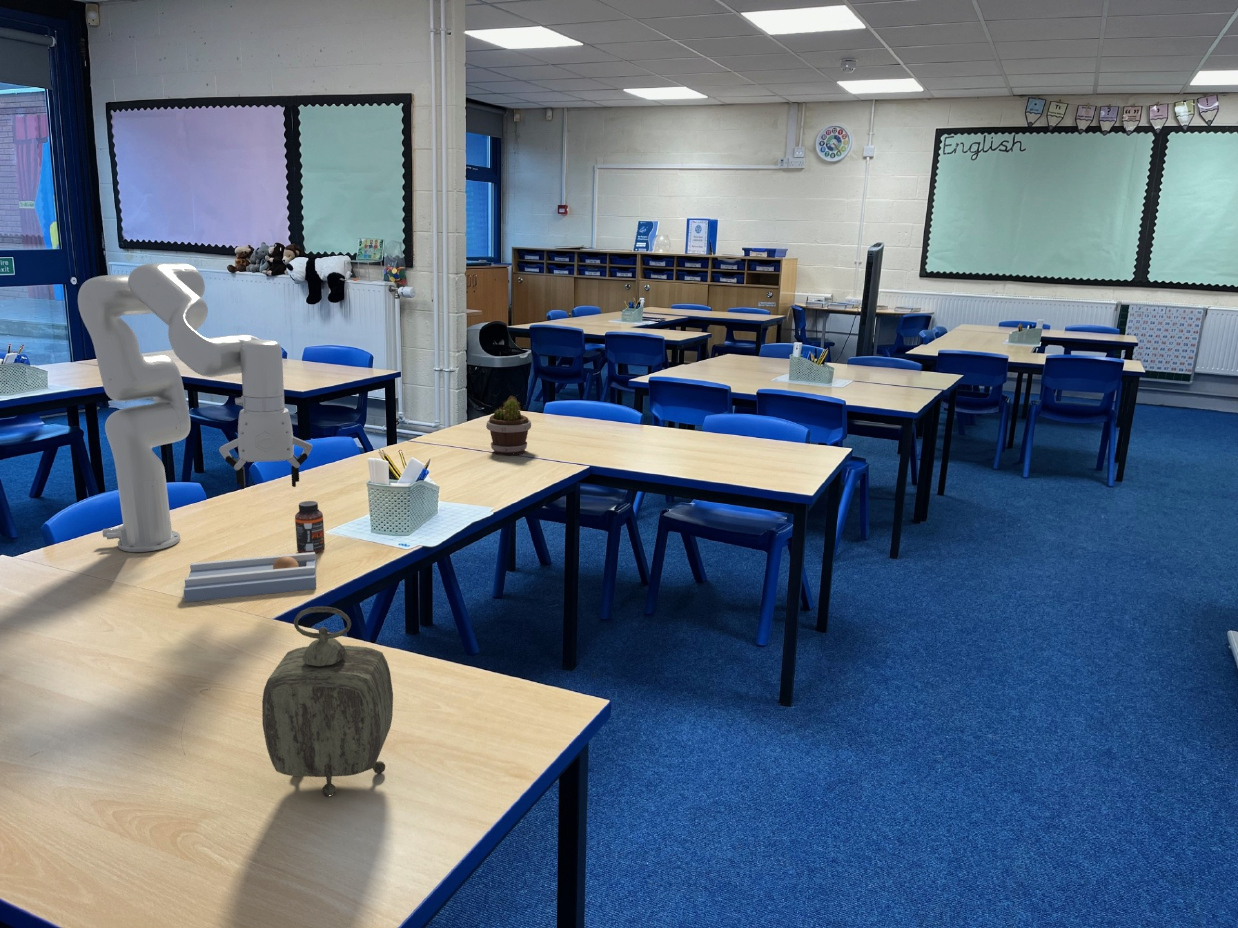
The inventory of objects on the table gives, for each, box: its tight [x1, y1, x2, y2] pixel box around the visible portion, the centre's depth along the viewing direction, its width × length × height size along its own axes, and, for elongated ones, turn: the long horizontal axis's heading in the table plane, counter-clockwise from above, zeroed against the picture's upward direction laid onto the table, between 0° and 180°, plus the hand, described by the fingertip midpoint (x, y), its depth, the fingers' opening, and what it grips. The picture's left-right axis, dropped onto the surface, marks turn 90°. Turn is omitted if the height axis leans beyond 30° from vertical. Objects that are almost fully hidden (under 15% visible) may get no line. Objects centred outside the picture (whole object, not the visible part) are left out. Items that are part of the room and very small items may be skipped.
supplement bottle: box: [294, 500, 326, 555], centre depth 196 cm, size 6×6×11 cm
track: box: [183, 552, 317, 603], centre depth 178 cm, size 24×14×4 cm, turn 109°
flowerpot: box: [485, 395, 532, 456], centre depth 288 cm, size 14×15×20 cm
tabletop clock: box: [261, 606, 394, 797], centre depth 110 cm, size 14×9×25 cm, turn 92°
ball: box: [273, 556, 299, 569], centre depth 180 cm, size 5×5×5 cm
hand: (268, 486), depth 177 cm, fingers open, 9 cm apart
